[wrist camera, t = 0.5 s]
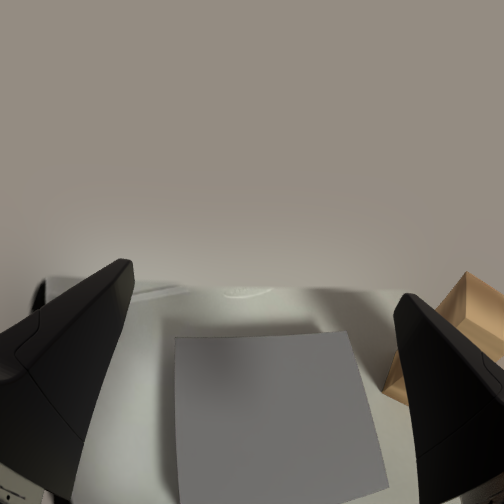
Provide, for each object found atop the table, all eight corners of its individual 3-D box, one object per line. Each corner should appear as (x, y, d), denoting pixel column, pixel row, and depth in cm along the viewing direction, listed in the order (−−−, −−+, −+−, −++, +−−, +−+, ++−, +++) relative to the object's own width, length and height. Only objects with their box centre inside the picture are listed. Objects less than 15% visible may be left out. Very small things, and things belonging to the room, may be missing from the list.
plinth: (369, 490, 16) (389, 487, 14) (185, 519, 14) (182, 523, 12) (334, 347, 26) (346, 330, 24) (177, 354, 24) (175, 337, 22)
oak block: (422, 412, 22) (513, 347, 13) (381, 393, 23) (465, 317, 15) (432, 371, 25) (509, 299, 17) (395, 352, 26) (466, 270, 18)
